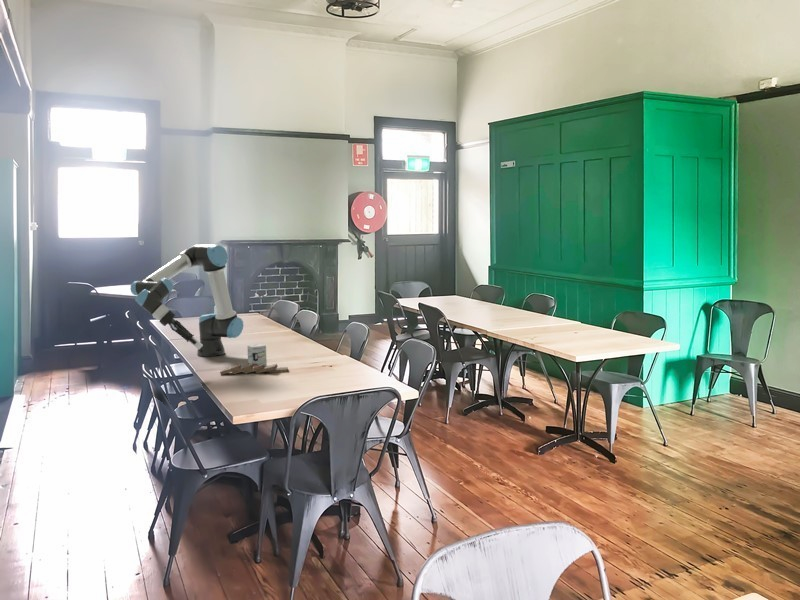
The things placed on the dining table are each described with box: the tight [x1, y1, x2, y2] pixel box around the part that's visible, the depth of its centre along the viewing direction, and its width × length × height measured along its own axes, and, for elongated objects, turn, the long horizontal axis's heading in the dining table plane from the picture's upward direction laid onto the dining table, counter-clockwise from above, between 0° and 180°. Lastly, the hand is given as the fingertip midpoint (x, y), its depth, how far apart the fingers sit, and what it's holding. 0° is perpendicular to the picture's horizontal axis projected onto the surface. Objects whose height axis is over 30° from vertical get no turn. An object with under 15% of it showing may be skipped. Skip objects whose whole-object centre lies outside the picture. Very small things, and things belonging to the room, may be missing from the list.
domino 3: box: [255, 363, 279, 374], centre depth 342 cm, size 5×2×10 cm
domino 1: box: [231, 363, 253, 375], centre depth 342 cm, size 5×2×10 cm
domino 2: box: [243, 363, 265, 374], centre depth 343 cm, size 5×2×10 cm
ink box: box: [247, 343, 268, 366], centre depth 353 cm, size 9×5×12 cm, turn 126°
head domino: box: [219, 363, 242, 376], centre depth 341 cm, size 5×2×10 cm
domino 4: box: [267, 366, 289, 373], centre depth 345 cm, size 5×2×10 cm
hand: (200, 347), depth 338 cm, fingers closed
